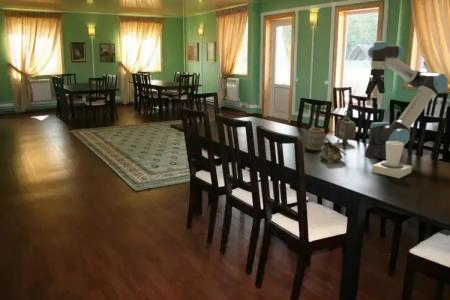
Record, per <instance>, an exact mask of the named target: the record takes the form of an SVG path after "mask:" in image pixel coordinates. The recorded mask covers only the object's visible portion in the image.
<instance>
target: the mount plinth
mask: <svg viewBox="0 0 450 300" xmlns="http://www.w3.org/2000/svg"><path fill="white" fill-rule="evenodd" d="M412 169H413V167H412V165H409V164H403V163H400V162H399V165H398V166H388V165H387V164H386V160H382V161H380V162H377V163H375V164H372V166H371V173H375V174H379V175H380V174H381V175H384V176H388V177H393V178H396V179H401V178H402V177H406V176H407V175H409V174H411V173H412Z"/></svg>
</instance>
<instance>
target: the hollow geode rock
mask: <svg viewBox="0 0 450 300" xmlns="http://www.w3.org/2000/svg"><path fill="white" fill-rule="evenodd" d="M324 140H325V142H324V143H323V144H322V147H321V150H320V151H321V158H322V159H324V158H325V160H327V162H328V163H329V164H335V163H340V161H341V160H342V159H343V156H342V154H343V155H344V156H348V154H346V152H344V151H343V150H342V149H341V148H340V147H339V146H337V145H336V144H334V143H333V142H331V141H330V140H329V138H327V137H324Z"/></svg>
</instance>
